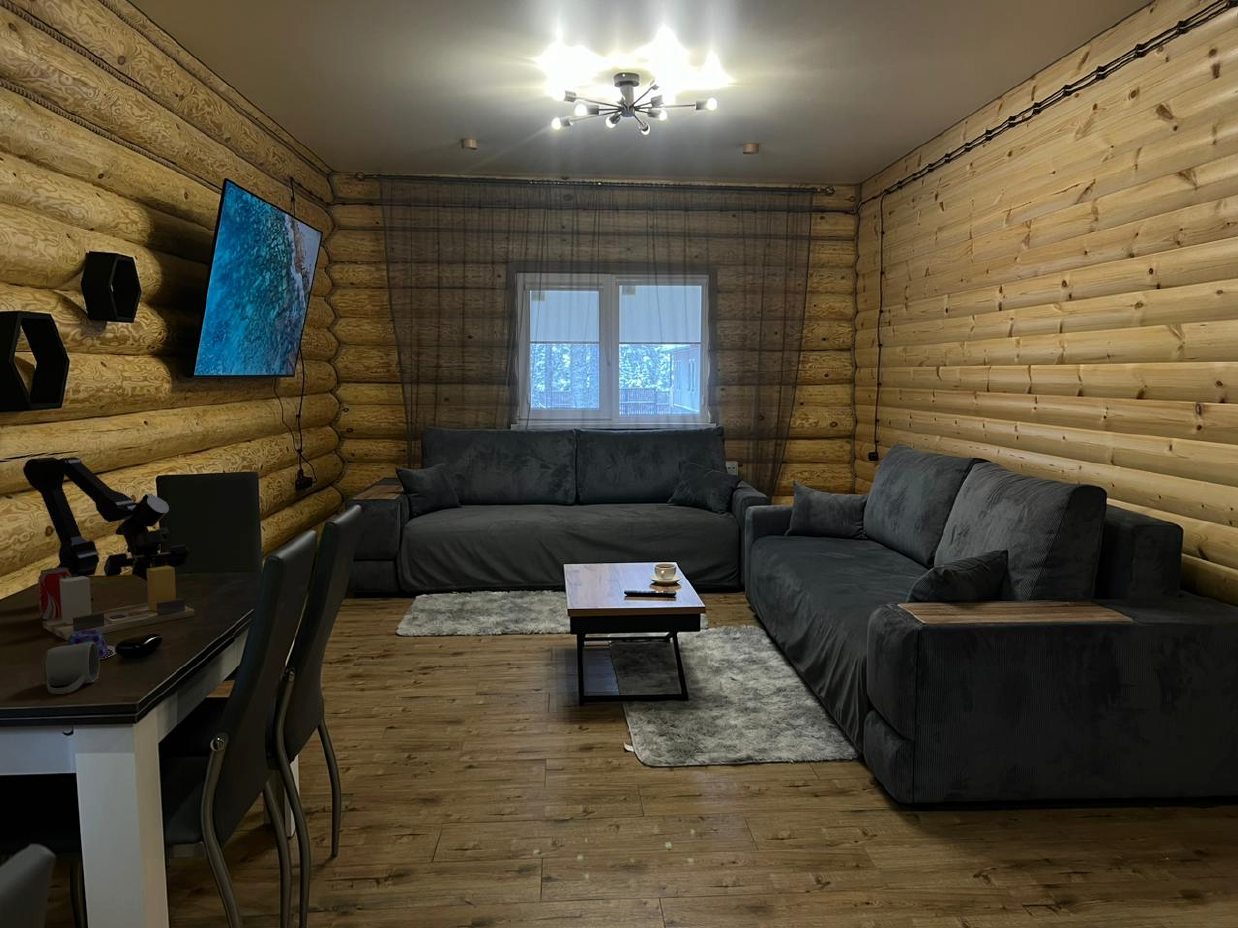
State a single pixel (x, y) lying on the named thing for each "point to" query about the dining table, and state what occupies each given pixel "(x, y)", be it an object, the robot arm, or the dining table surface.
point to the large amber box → (160, 585)
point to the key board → (120, 618)
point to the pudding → (91, 637)
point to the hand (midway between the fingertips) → (158, 586)
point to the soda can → (51, 592)
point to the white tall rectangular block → (75, 598)
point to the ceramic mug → (70, 666)
